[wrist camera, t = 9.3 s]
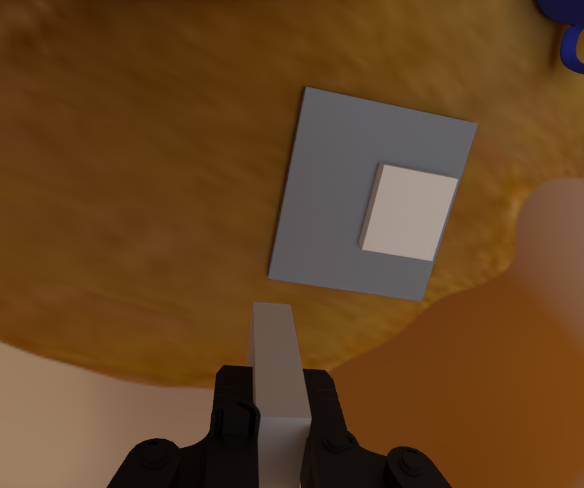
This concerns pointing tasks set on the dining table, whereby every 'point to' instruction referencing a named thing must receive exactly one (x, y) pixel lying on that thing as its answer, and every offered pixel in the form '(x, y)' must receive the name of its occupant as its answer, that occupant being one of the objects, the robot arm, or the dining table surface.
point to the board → (356, 190)
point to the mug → (580, 15)
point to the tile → (406, 211)
